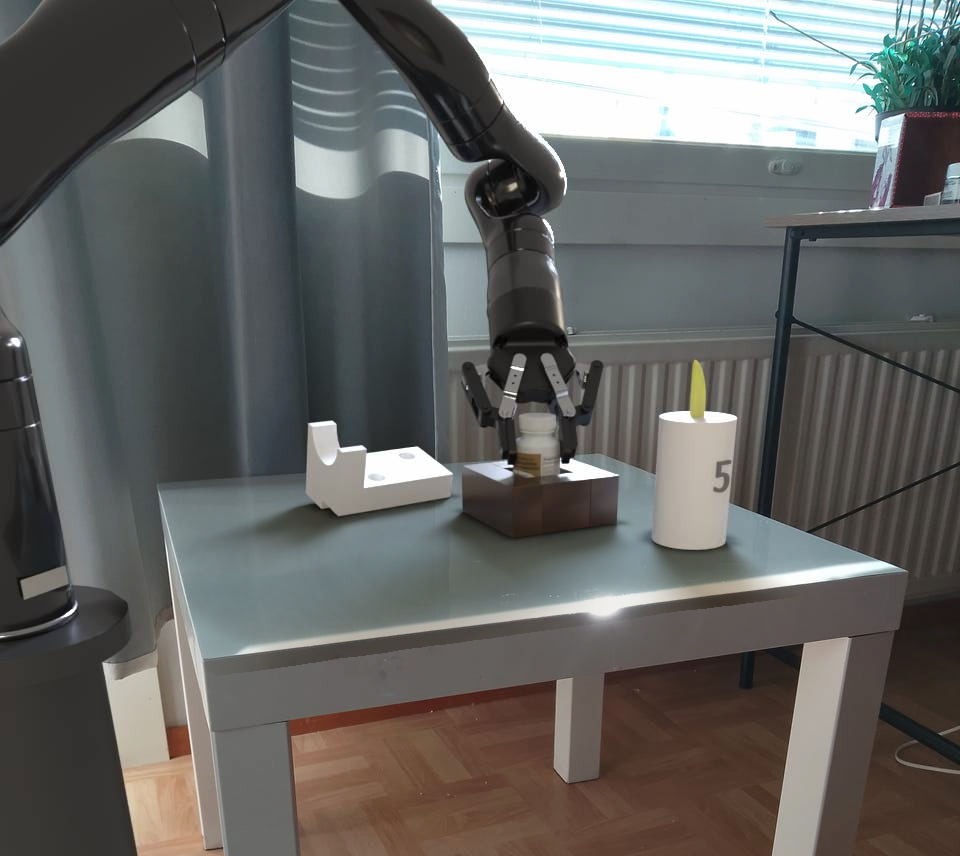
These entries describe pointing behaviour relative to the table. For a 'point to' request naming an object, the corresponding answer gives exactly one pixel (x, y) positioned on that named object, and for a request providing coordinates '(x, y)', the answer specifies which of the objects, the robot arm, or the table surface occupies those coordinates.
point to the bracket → (369, 474)
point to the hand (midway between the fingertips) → (539, 458)
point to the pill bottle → (537, 446)
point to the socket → (539, 498)
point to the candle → (693, 473)
